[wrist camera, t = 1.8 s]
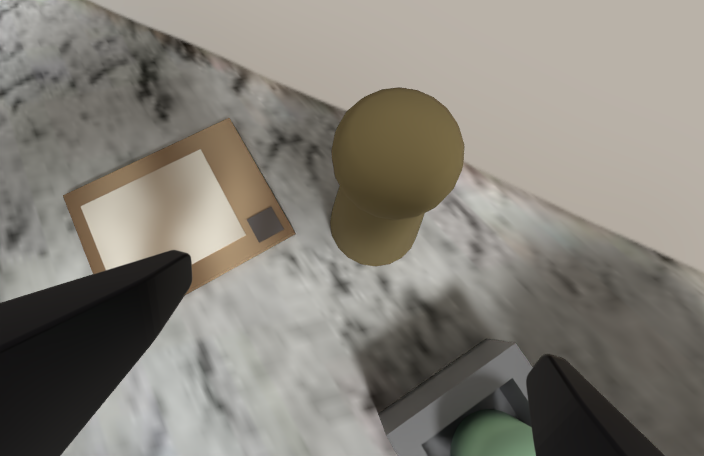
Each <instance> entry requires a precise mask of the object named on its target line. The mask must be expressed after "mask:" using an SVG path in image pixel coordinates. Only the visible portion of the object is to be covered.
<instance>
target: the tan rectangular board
mask: <svg viewBox="0 0 704 456" xmlns="http://www.w3.org/2000/svg"><path fill="white" fill-rule="evenodd" d="M63 197H64V200H65V202H66V205H67V208H68V210H69V213H70V215H71V218H72V220H73V223H74V226H75V228H76V231H77V233H78V236H79V239H80V241H81V244H82V246H83V249H84V251H85V254H86V257H87V259H88V262H89V264H90V267H91V270H92V272H93V274H96V273H99V272H102V271H105V270H109V269H112V268H115V267H118V266H122V265H125V264H128V263H131V262H135V261H138V260H141V259H144V258H147V257H151V256H154V255H157V254H160V253H164V252H167V251H170V250H178V251H182V252H185V253H188V254H189V255H190V256H191V261H192V283H191V286H190V288H189V290H188V291H187V293H186V294H188V293H190V292H192V291H194V290H195V289H197V288H199V287H201V286H203V285H204V284H206V283H208V282H210V281H212V280H213V279H215V278H217V277H219V276H221V275H222V274H224V273H226V272H228V271H230V270H231V269H233V268H235V267H237V266H239V265H240V264H242V263H244V262H246V261H248V260H249V259H251V258H253V257H255V256H257V255H258V254H260V253H262V252H264V251H266V250H268V249H269V248H271V247H273V246H275V245H277V244H278V243H280V242H282V241H284V240H286V239H287V238H289V237H291V236H293V235H295V232H294V230H293V228H292V227H291V225H290V223H289V221H288V220H287V218H286V216H285V214H284V213H283V211H282V209H281V207H280V206H279V204H278V202H277V200H276V199H275V197H274V195H273V193H272V192H271V190H270V188H269V186H268V185H267V183H266V181H265V179H264V178H263V176H262V174H261V172H260V171H259V169H258V167H257V165H256V164H255V162H254V160H253V158H252V157H251V155H250V153H249V151H248V150H247V148H246V146H245V144H244V143H243V141H242V139H241V137H240V136H239V134H238V132H237V130H236V129H235V127H234V125H233V123H232V122H231V120H230V118H228V119H225V120H223V121H221V122H219V123H217V124H215V125H213V126H210V127H208V128H206V129H204V130H202V131H200V132H198V133H195V134H193V135H191V136H189V137H187V138H185V139H183V140H181V141H178V142H176V143H174V144H172V145H170V146H168V147H166V148H163V149H161V150H159V151H157V152H155V153H153V154H151V155H148V156H146V157H144V158H142V159H140V160H138V161H136V162H133V163H131V164H129V165H127V166H125V167H123V168H121V169H119V170H116V171H114V172H112V173H110V174H108V175H106V176H104V177H101V178H99V179H97V180H95V181H93V182H91V183H89V184H86V185H84V186H82V187H80V188H78V189H76V190H74V191H71V192H69V193H67V194H65V195H63ZM186 294H185V295H186Z"/></svg>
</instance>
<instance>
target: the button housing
mask: <svg viewBox="0 0 704 456" xmlns="http://www.w3.org/2000/svg"><path fill="white" fill-rule="evenodd" d="M532 368H533V367H532V365H531V364H530V363H529V361H528V360H527V358H526V357H525V355H524V354H523V352H522V351H521V350H520V348H519V347H518V345H517V344H516V343H513V342H506V341H499V340H491V339H485V340H484V341H482V342H481V343H480V344H478V345H477V346H475V347H474V348H472V349H471V350H469V351H468V352H467V353H465V354H464V355H462V356H461V357H459V358H458V359H456V360H455V361H454V362H452V363H451V364H449V365H448V366H446V367H445V368H444V369H442V370H441V371H439V372H438V373H436V374H435V375H433V376H432V377H431V378H429V379H428V380H426V381H425V382H423V383H422V384H421V385H419V386H418V387H416V388H415V389H413V390H412V391H410V392H409V393H408V394H406V395H405V396H403V397H402V398H400V399H399V400H398V401H396V402H395V403H393V404H392V405H390V406H389V407H387V408H386V409H385V410H383V411H382V412H380V413H379V417H380V420H381V422H382V425H383V428H384V430H385V433H386V436H387V437H388V439H389V441H390V443H391V445H392V447H393V448H394V450H395V452H396V454H397V456H450V450H451V443H452V439H453V436H454V433H455V431H456V429H457V427H458V426H459V424H460V423H461V422H462V421H463V420H464V419H465V418H466V417H467V416H469V415H470V414H472V413H474V412H476V411H479V410H483V409H495V410H500V411H503V412H505V413H507V414H509V415H511V416H513V417H515V418H516V419H518V420H520V421H521V422H523V423H525V424H527V425H528V426H530V427H531V419H530V411H529V403H528V395H527V387H526V379H527V375H528V373H529V372H530V371H531V369H532Z"/></svg>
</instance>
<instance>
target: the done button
mask: <svg viewBox="0 0 704 456" xmlns="http://www.w3.org/2000/svg"><path fill="white" fill-rule="evenodd" d="M450 456H536V453H535V448H534V442H533V434H532V427H530V426H528V425H527V424H525V423H523V422H521V421H520V420H518V419H516V418H515V417H513V416H511V415H509V414H507V413H505V412H503V411H500V410H495V409H483V410H479V411H476V412H474V413H472V414H470V415H469V416H467V417H466V418H465V419H464V420H463V421H462V422H461V423H460V424H459V426H458V427H457V429H456V431H455V433H454V436H453V439H452V443H451V450H450Z"/></svg>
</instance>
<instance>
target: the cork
mask: <svg viewBox="0 0 704 456" xmlns="http://www.w3.org/2000/svg"><path fill="white" fill-rule="evenodd" d="M331 152H332V161H333V167H334V173H335V177H336V179H337V181H338V183H339V185H340V186H339V190H338V193H337V196H336V199H335V202H334V206H333V209H332V214H331V220H330V225H331V232H332V236H333V238H334V240H335V242H336V244H337V246H338V248H339V249H340V250H341V251H342V252H343V253H344V254H345V255H346V256H347V257H348V258H350V259H352V260H354V261H356V262H358V263H360V264H364V265H370V266H381V265H387V264H391V263H392V262H394V261H396V260H398V259H400V258H402V257H403V256H404V255H405V254H406V253H407V252H408V251H409V250H410V249H411V247H412V245H413V243H414V241H415V238H416V236H417V234H418V231H419V228H420V225H421V222H422V219H423V216H424V214H425V212H427V211H429V210H431V209H433V208H435V207H436V206H437V205H438V204H439V203H440V202H441V201H442V200H443V199H444V198H445V197H446V196H447V195H448V194H449V193H450V192H451V191H452V190H453V189H454V187H455V184H456V182H457V180H458V178H459V175H460V173H461V171H462V167H463V160H464V142H463V139H462V136H461V132H460V129H459V126H458V124H457V122H456V121H455V119H454V118H453V116H452V115H451V113H450V112H449V110H448V109H447V108H446V107H445V106H444V105H442V104H441V103H440V102H439V101H437V100H436V99H435V98H434V97H432V96H429V95H427V94H425V93H423V92H420V91H418V90H413V89H406V88H391V89H382V90H380V91H377V92H375V93H372V94H370V95H368V96H366V97H364V98H362V99H361V100H360V101H358V102H357V103H356V104H355V105H354V106H353V107H351V108H350V109H349V110H348V111H347V112H346V114H345V115H344V117H343V119H342V120H341V122H340V124H339V125H338V127H337V130H336V132H335V135H334V141H333V146H332V151H331Z"/></svg>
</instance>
